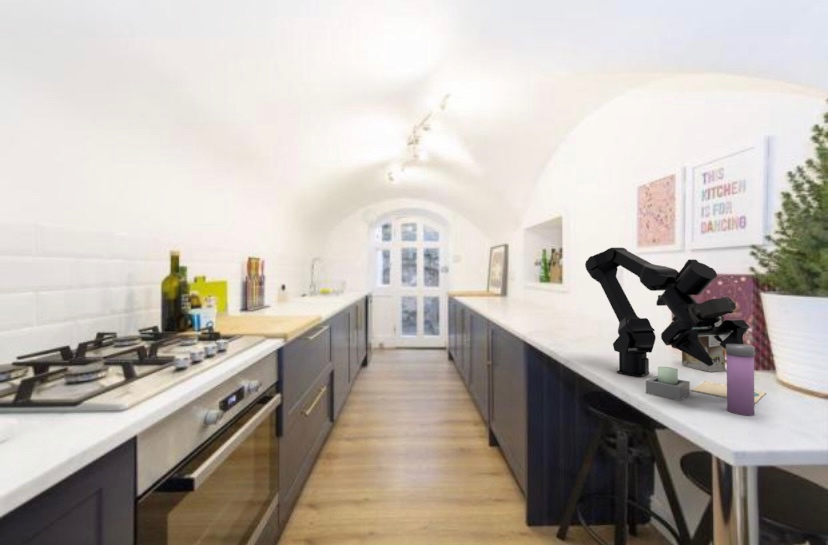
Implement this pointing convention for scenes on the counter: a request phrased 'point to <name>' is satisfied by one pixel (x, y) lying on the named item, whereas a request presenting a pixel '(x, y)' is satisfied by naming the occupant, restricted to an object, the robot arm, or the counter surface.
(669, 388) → the button housing
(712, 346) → the coffee box
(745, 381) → the purple canister
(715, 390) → the beige coaster
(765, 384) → the counter surface
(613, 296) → the robot arm
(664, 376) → the button
